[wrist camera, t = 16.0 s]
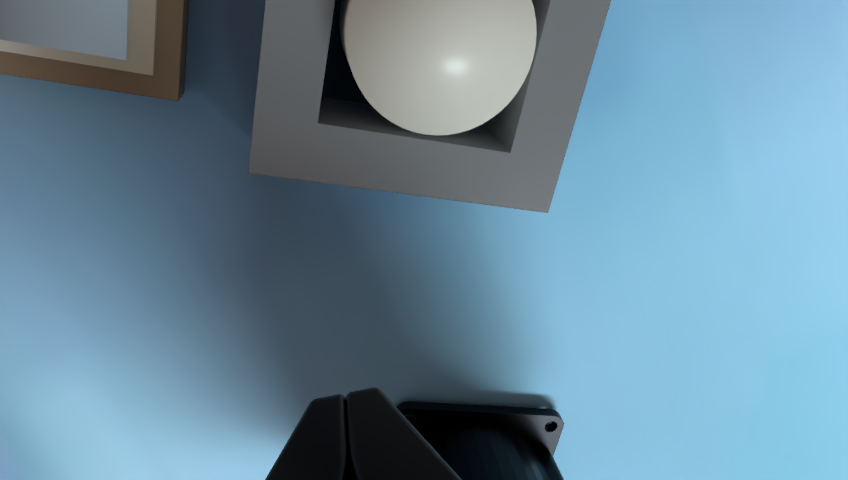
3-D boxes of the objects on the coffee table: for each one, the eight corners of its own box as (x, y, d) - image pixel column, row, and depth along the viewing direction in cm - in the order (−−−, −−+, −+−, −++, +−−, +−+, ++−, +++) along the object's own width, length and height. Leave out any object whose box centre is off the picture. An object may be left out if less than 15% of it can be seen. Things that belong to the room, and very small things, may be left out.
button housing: (591, -104, 18) (643, -110, 15) (515, 176, 21) (547, 213, 18) (289, -183, 16) (286, -206, 13) (255, 138, 19) (248, 172, 16)
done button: (518, -46, 17) (559, -41, 15) (480, 117, 19) (509, 147, 16) (353, -84, 16) (364, -87, 14) (328, 91, 18) (332, 120, 15)
